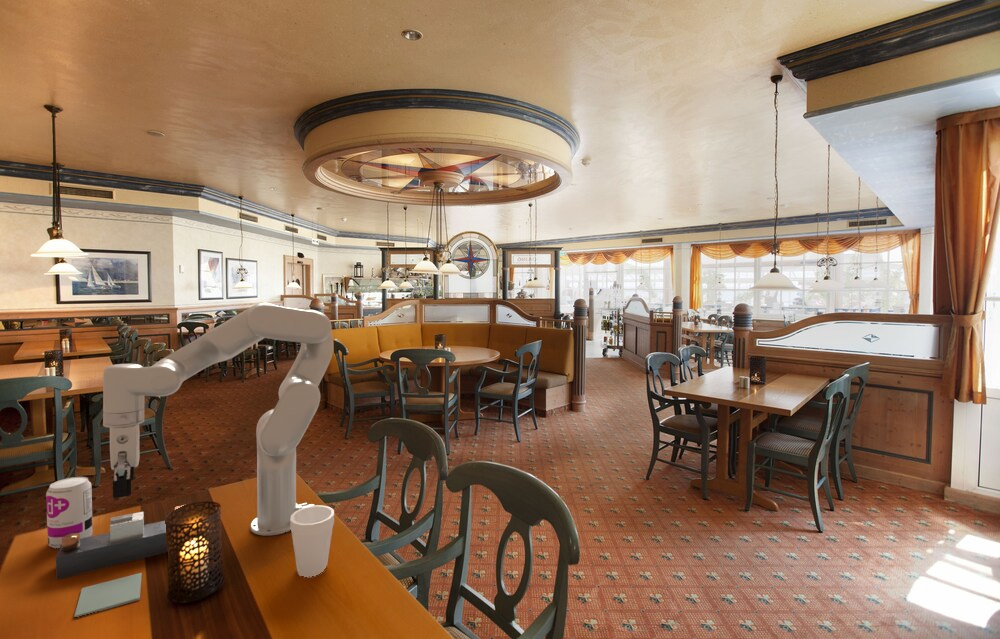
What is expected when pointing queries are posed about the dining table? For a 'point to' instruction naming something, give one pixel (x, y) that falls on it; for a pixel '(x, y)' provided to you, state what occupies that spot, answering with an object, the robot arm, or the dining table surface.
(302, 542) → the foam cup
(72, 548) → the hand plane
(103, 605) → the mat
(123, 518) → the lever cap
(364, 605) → the dining table surface
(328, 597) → the dining table surface
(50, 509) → the supplement can
